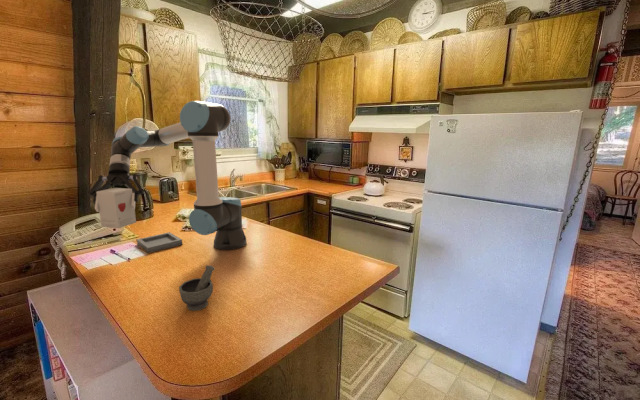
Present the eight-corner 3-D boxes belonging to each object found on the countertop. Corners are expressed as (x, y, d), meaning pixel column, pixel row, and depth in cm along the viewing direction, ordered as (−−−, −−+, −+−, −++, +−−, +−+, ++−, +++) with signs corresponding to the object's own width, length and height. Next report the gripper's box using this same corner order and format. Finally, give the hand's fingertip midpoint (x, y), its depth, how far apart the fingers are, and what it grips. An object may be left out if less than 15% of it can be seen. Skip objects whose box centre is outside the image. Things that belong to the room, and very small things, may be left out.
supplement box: (119, 228, 121) (113, 192, 117) (100, 227, 122) (95, 191, 119) (137, 222, 129) (132, 188, 126) (119, 221, 131) (114, 187, 128)
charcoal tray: (182, 244, 144) (182, 239, 143) (148, 253, 133) (147, 247, 132) (170, 236, 154) (169, 232, 153) (137, 244, 143) (136, 239, 142)
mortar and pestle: (189, 318, 88) (185, 280, 85) (175, 305, 94) (171, 270, 91) (223, 302, 96) (221, 268, 93) (208, 292, 102) (206, 259, 99)
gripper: (152, 171, 140) (150, 211, 129) (89, 173, 131) (82, 216, 121) (148, 161, 134) (147, 201, 123) (83, 162, 125) (75, 206, 115)
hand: (115, 209), depth 122 cm, fingers closed on supplement box, 12 cm apart
